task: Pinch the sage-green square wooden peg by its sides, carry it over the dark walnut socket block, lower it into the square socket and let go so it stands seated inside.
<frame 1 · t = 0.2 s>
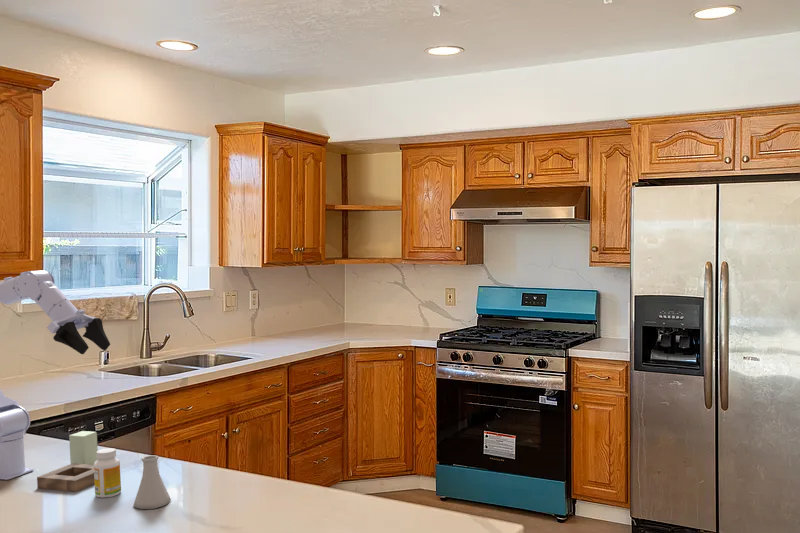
hand: (96, 349, 176), 31 cm above the counter, tool tilted 45°, fingers open, 7 cm apart
flask: (152, 505, 160), on the counter
peg: (84, 465, 191), on the counter
socket: (74, 482, 177), on the counter
supplement bottle: (108, 495, 168), on the counter
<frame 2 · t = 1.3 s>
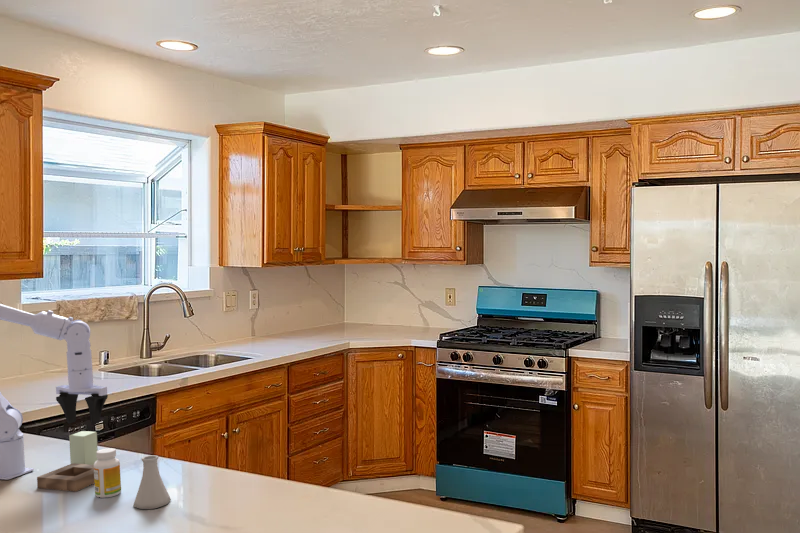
hand: (83, 423, 191), 11 cm above the counter, tool pointing down, fingers open, 7 cm apart
nothing on the counter moved.
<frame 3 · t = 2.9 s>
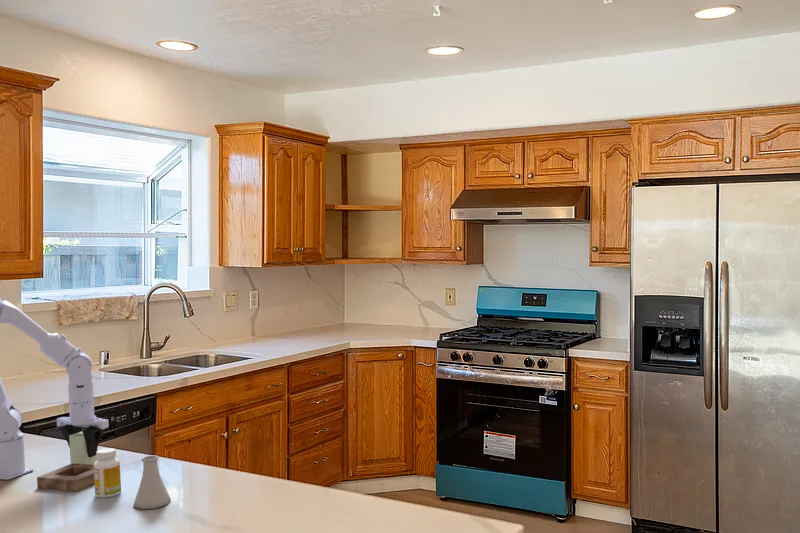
hand: (84, 455, 191), 2 cm above the counter, tool pointing down, fingers closed on peg, 4 cm apart
peg: (84, 465, 191), on the counter, touching gripper
everything else where it was.
when the fingers open (4 cm above the counter, at t = 8.7 s): peg drops 1 cm, resting in socket.
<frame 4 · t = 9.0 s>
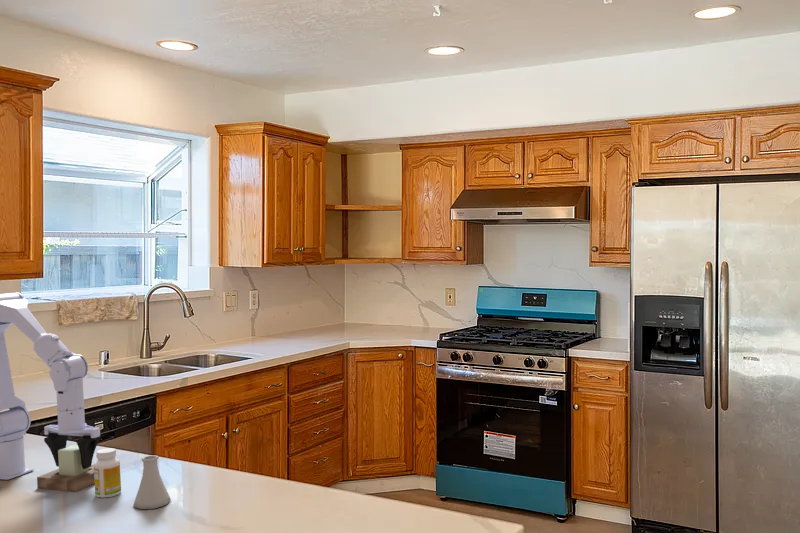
hand: (73, 466, 177), 4 cm above the counter, tool pointing down, fingers open, 7 cm apart
peg: (74, 482, 178), resting in socket
everything else where it was.
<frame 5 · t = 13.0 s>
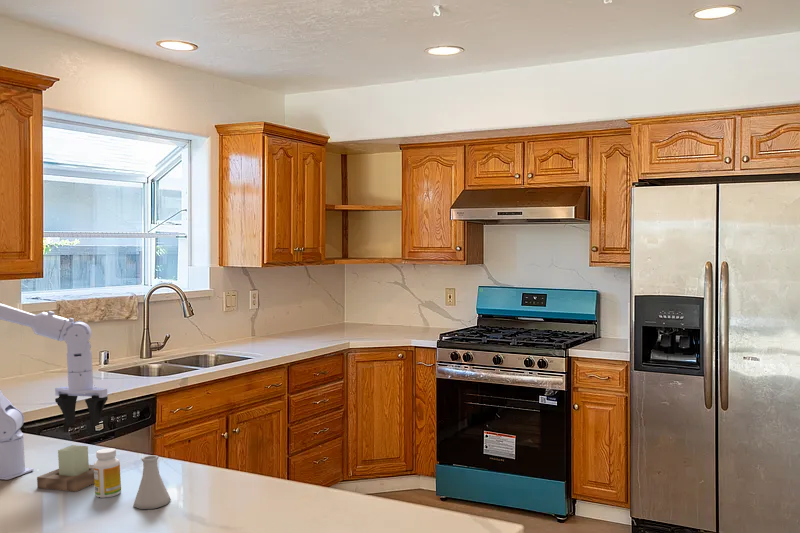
hand: (82, 425, 190), 10 cm above the counter, tool pointing down, fingers open, 7 cm apart
nothing on the counter moved.
at the end: peg 0.1 cm off-centre on the socket, point 0.0 cm above the socket's base; peg tilted 0°; the gripper is holding nothing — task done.
